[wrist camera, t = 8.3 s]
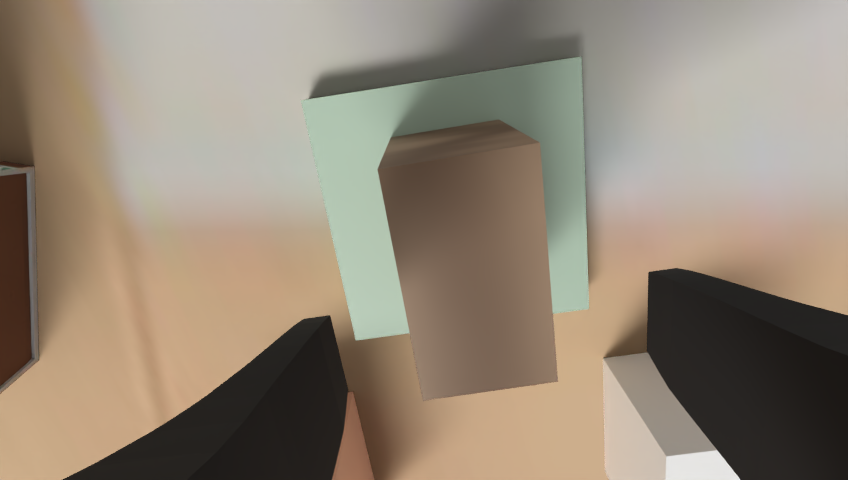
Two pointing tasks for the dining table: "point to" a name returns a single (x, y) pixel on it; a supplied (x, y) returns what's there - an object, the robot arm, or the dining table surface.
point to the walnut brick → (472, 256)
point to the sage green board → (431, 110)
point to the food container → (17, 272)
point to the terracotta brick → (352, 448)
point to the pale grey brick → (652, 428)
